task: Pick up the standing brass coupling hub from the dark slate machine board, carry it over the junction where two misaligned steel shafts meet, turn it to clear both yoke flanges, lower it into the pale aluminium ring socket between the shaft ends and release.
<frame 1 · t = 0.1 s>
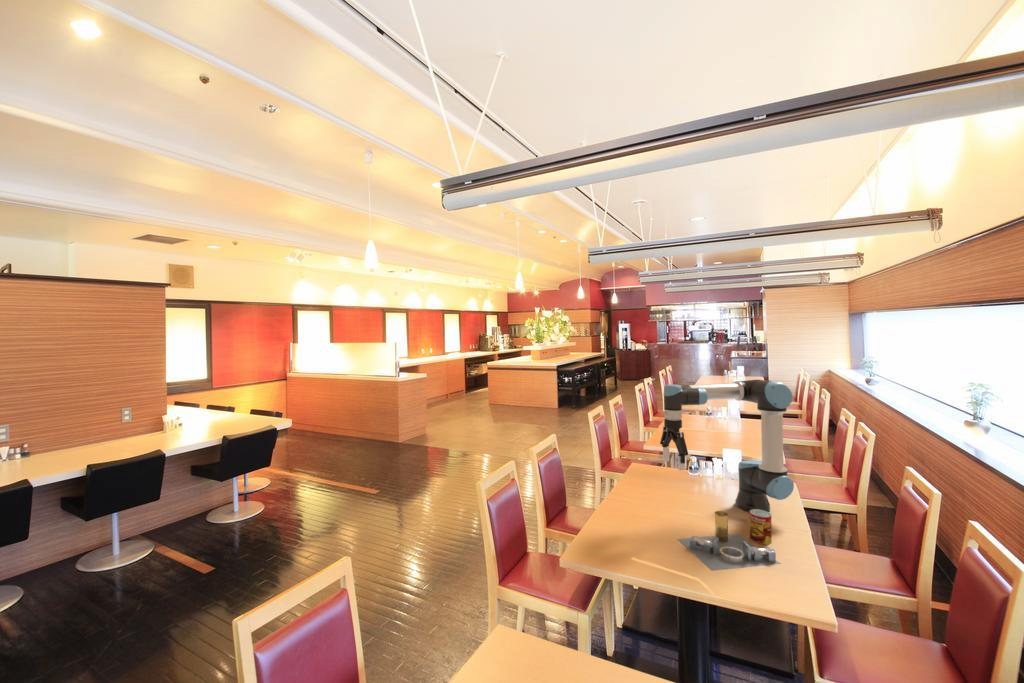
hand: (673, 465, 188), 28 cm above the table, fingers open, 13 cm apart
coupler: (721, 539, 174), point 1 cm above the table, touching base board
canned food: (760, 541, 174), on the table
shaft a: (759, 558, 159), resting on base board
socket: (731, 557, 160), resting on base board
base board: (726, 552, 165), on the table
shaft b: (704, 549, 166), resting on base board
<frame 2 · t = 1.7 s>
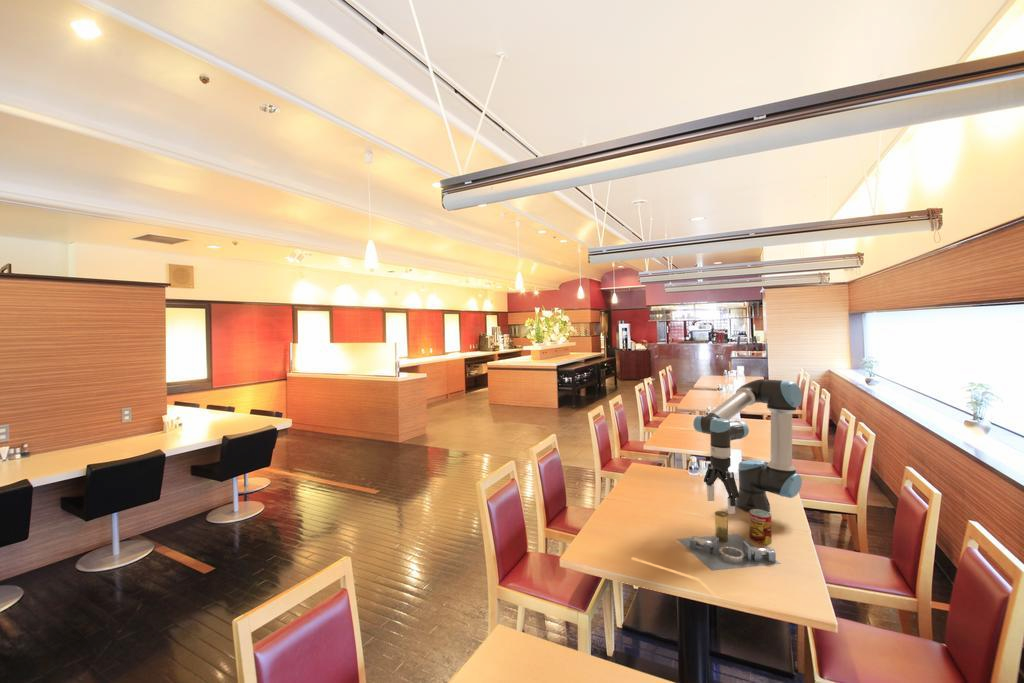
hand: (720, 506, 174), 15 cm above the table, fingers open, 13 cm apart
nothing on the table moved.
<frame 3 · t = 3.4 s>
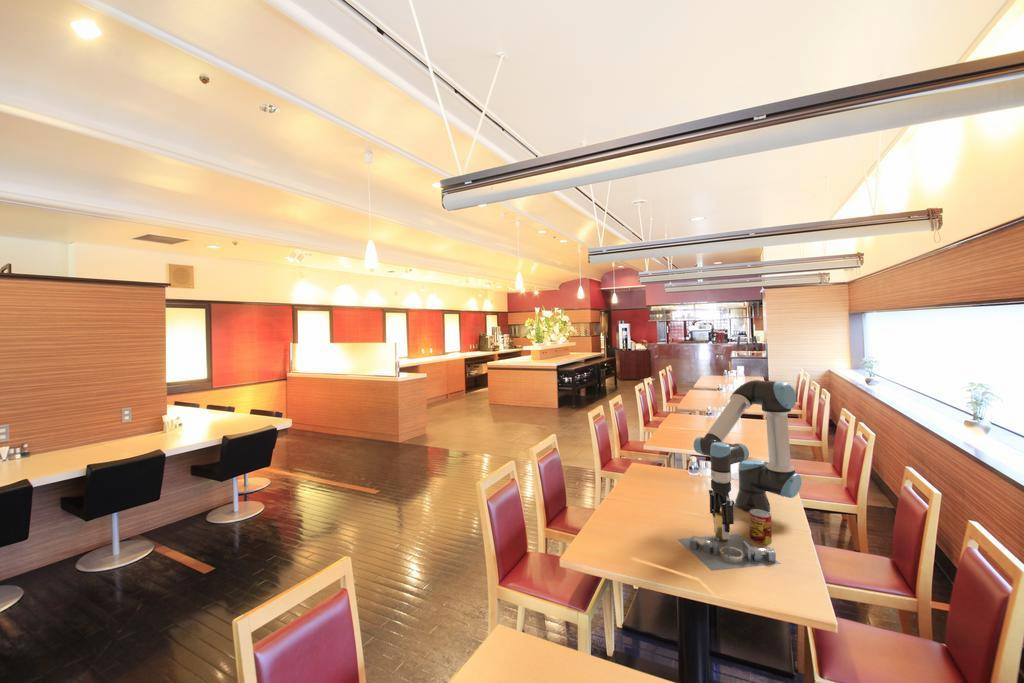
hand: (721, 535, 174), 3 cm above the table, fingers closed on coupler, 5 cm apart
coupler: (721, 539, 174), point 1 cm above the table, touching base board, gripper
everything else where it was.
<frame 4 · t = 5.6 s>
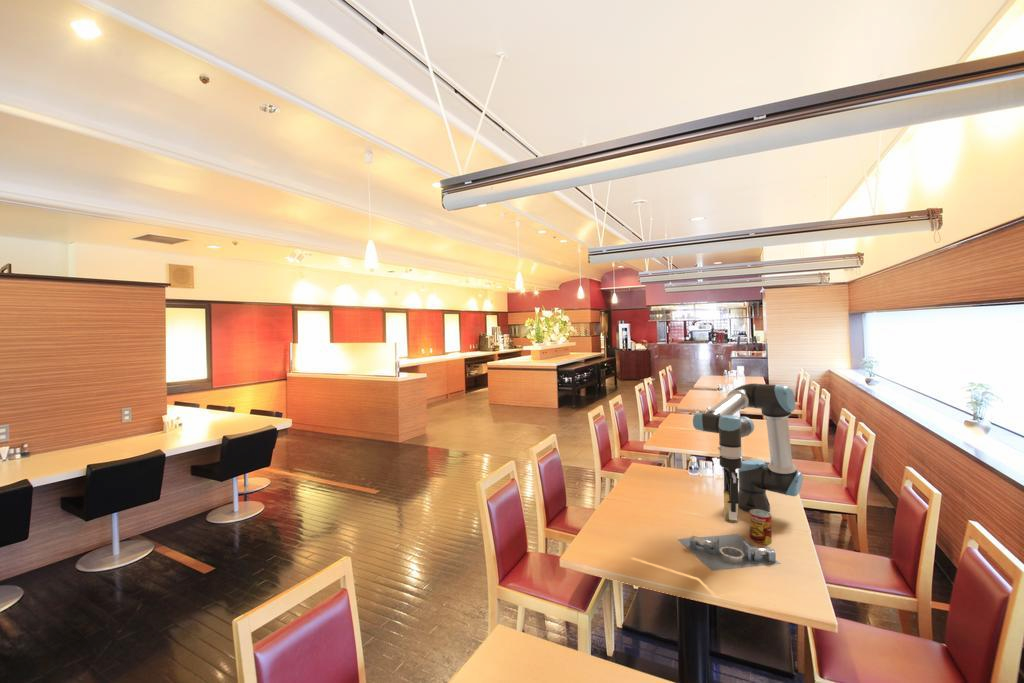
hand: (731, 516, 160), 17 cm above the table, fingers closed on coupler, 5 cm apart
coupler: (731, 520, 160), point 15 cm above the table, touching gripper
everything else where it was.
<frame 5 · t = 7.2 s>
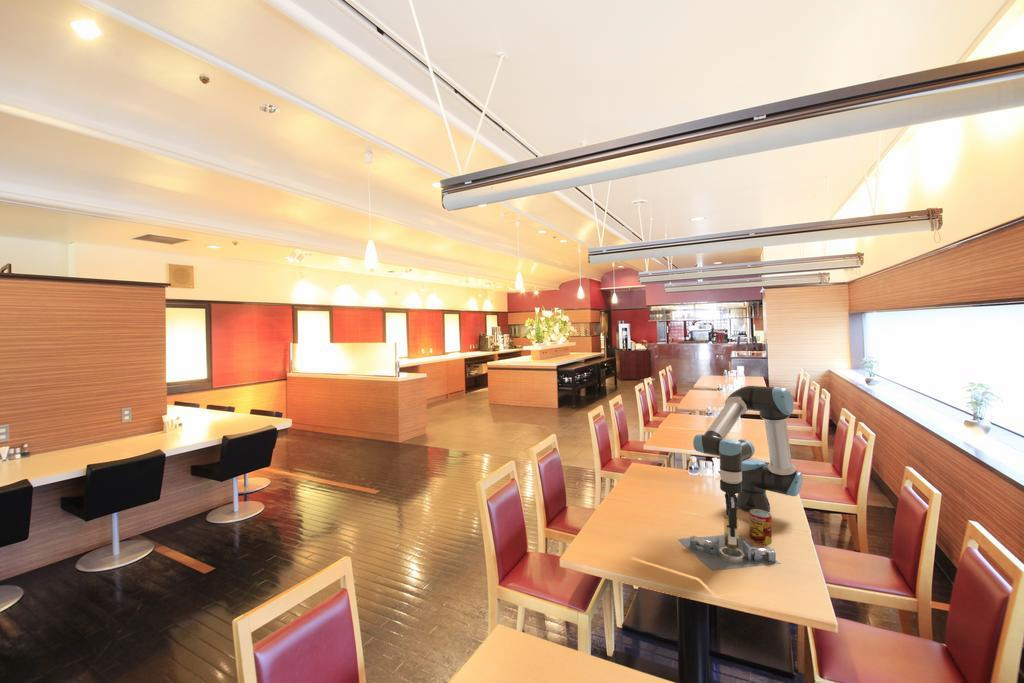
hand: (731, 540, 160), 7 cm above the table, fingers closed on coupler, 5 cm apart
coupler: (731, 545, 160), point 5 cm above the table, touching gripper
everything else where it was.
when the fingers open (3 cm above the table, at t = 8.2 s): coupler stays where it is, resting on base board.
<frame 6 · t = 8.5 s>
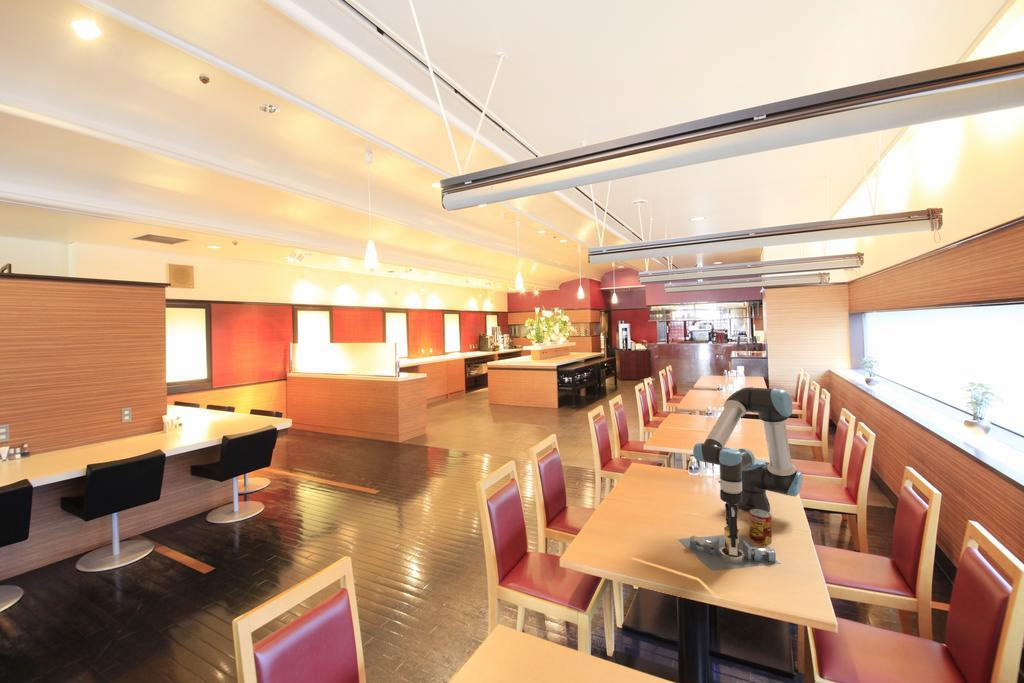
hand: (731, 548, 160), 4 cm above the table, fingers open, 9 cm apart
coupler: (731, 557, 160), point 1 cm above the table, touching base board
everything else where it was.
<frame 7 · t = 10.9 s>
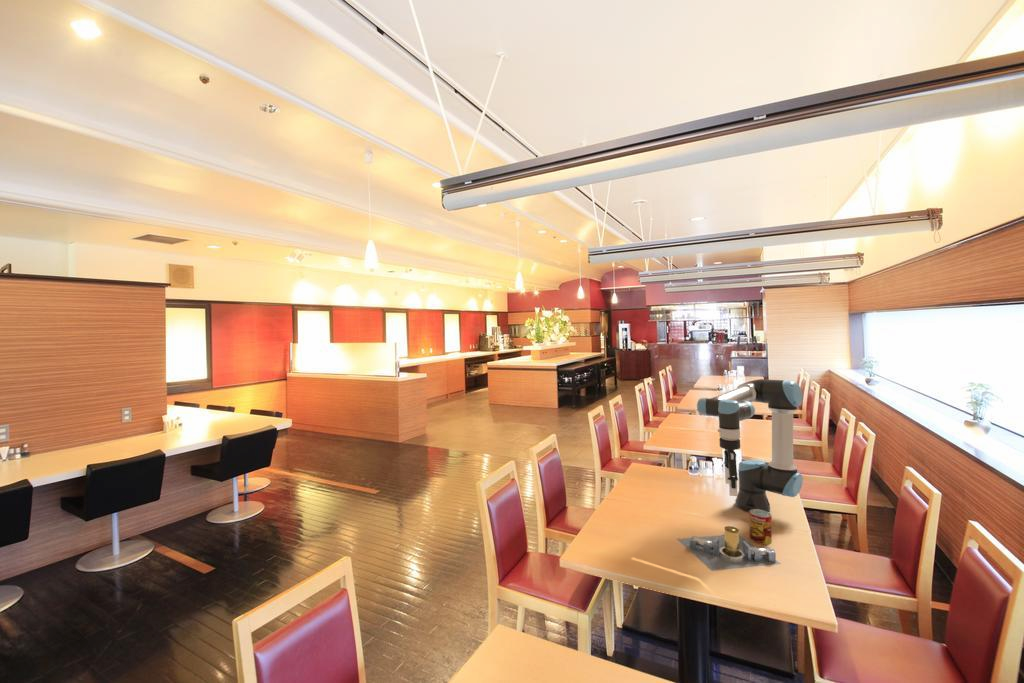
hand: (731, 489, 170), 23 cm above the table, fingers open, 13 cm apart
nothing on the table moved.
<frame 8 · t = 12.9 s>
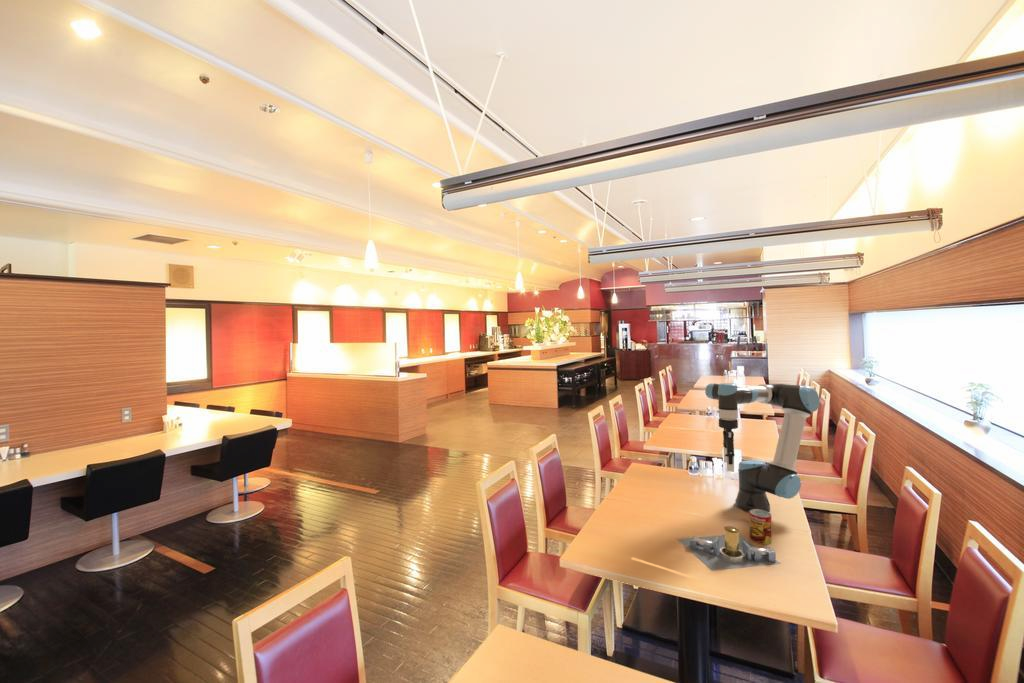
hand: (728, 466, 182), 29 cm above the table, fingers open, 13 cm apart
nothing on the table moved.
at the end: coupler 0.0 cm off-centre on the socket, point 0.0 cm above the socket's base; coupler tilted 0°; the gripper is holding nothing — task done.
